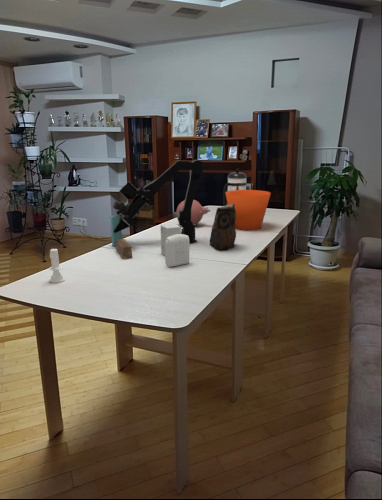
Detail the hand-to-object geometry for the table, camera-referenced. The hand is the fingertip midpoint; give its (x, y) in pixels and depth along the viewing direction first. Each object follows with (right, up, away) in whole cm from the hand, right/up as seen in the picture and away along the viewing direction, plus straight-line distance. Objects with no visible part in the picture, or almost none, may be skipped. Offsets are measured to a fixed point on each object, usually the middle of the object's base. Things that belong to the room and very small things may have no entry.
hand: (113, 231), depth 180 cm
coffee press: (+66, +15, +78) cm, 104 cm away
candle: (-12, -20, -42) cm, 48 cm away
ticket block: (+7, -11, -11) cm, 17 cm away
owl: (+51, -7, 0) cm, 51 cm away
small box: (+28, -11, -12) cm, 32 cm away
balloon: (+38, +5, +44) cm, 58 cm away
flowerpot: (+68, +4, +39) cm, 79 cm away
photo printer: (+31, -15, -25) cm, 43 cm away
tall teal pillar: (+1, -7, +2) cm, 7 cm away
